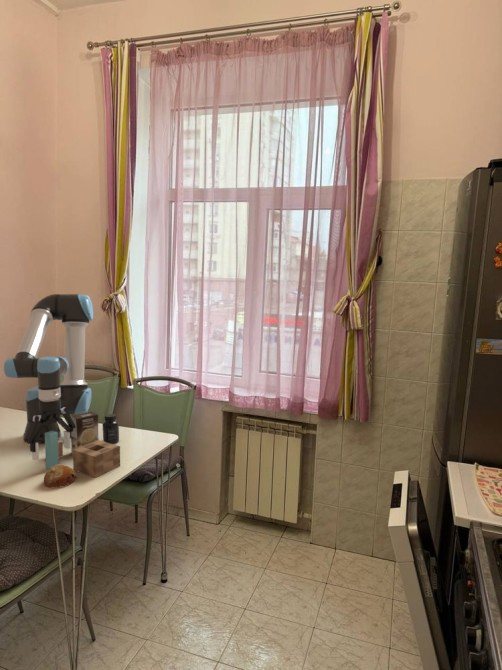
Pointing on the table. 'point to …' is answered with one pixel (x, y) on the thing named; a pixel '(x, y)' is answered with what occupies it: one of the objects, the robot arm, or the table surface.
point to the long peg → (51, 449)
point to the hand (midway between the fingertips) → (51, 453)
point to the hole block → (96, 458)
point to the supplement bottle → (110, 429)
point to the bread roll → (59, 476)
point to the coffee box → (84, 429)
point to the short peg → (60, 448)
